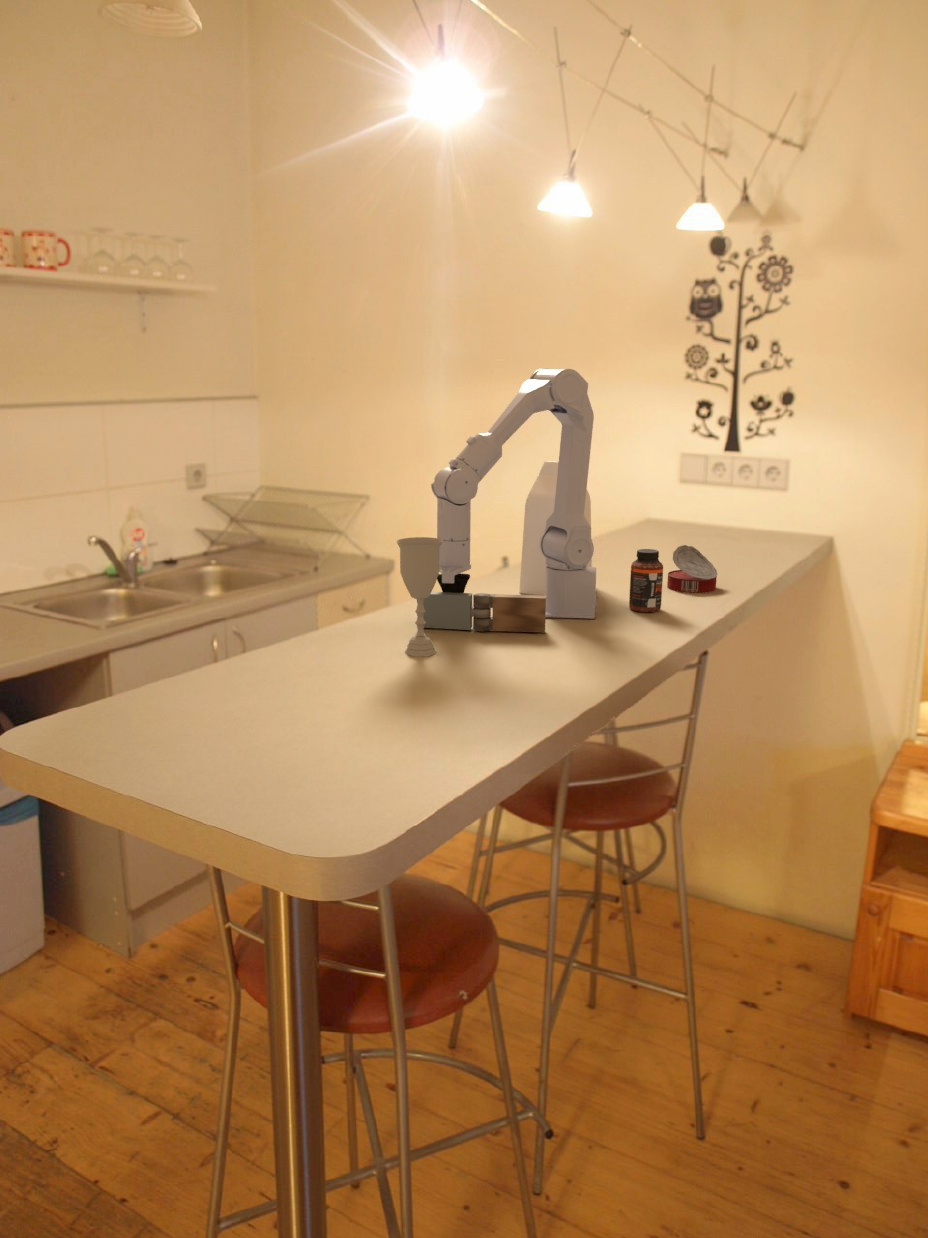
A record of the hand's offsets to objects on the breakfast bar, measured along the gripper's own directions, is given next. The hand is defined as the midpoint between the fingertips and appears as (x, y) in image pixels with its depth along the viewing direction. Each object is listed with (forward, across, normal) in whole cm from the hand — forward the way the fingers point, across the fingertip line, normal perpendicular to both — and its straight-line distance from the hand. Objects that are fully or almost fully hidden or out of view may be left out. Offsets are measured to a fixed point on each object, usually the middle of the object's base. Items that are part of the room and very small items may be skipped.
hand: (453, 615), depth 175 cm
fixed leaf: (+2, +2, +10) cm, 10 cm away
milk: (+2, -32, +17) cm, 36 cm away
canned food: (+2, -37, +45) cm, 58 cm away
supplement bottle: (+2, -17, +34) cm, 38 cm away
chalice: (+2, +17, -3) cm, 17 cm away
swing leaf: (+2, +2, +1) cm, 3 cm away
